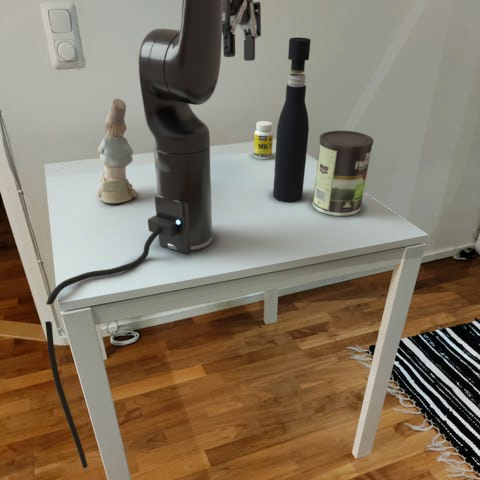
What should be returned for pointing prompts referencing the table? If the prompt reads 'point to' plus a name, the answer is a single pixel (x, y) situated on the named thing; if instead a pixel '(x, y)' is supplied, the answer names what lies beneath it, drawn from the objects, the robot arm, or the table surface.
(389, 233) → the table surface
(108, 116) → the figurine
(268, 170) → the table surface
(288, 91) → the dark blue water bottle
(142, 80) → the robot arm
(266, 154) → the supplement bottle
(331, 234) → the table surface
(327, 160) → the coffee can
